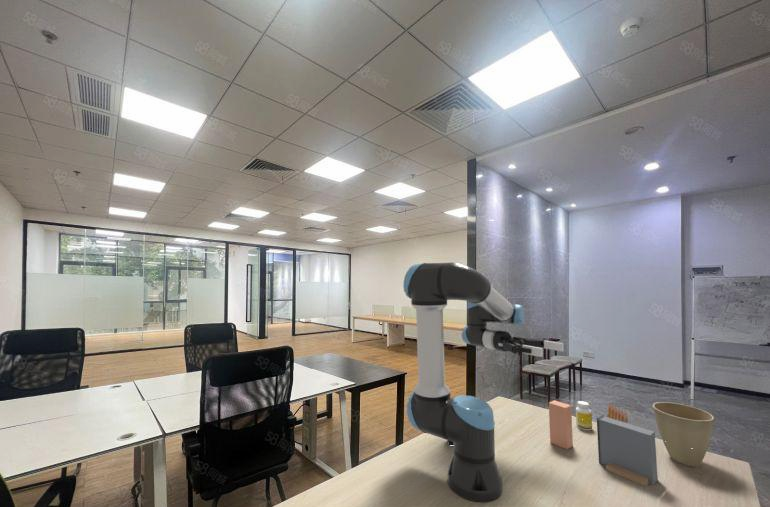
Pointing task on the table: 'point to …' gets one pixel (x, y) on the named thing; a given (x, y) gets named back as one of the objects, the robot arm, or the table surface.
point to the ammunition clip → (616, 414)
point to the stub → (560, 424)
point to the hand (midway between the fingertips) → (553, 349)
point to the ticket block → (627, 450)
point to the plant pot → (684, 431)
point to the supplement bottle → (583, 416)
